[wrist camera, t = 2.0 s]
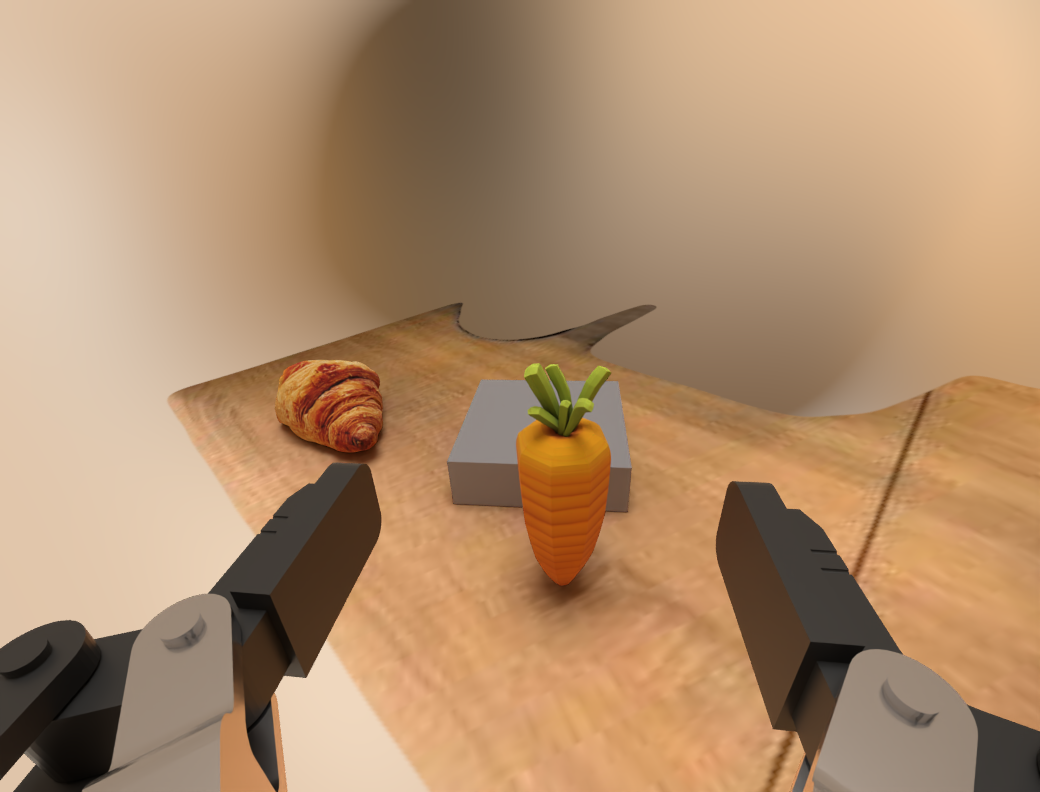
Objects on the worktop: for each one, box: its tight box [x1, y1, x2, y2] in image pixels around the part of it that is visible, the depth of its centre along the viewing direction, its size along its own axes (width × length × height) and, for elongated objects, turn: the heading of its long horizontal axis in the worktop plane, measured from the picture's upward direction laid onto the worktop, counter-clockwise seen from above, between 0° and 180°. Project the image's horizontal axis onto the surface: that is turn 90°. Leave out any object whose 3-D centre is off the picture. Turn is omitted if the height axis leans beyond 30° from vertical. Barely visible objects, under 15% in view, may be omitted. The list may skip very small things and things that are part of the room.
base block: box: [447, 380, 632, 512], centre depth 39 cm, size 13×13×4 cm
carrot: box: [516, 363, 611, 586], centre depth 25 cm, size 5×5×15 cm
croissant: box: [275, 360, 383, 452], centre depth 46 cm, size 21×10×8 cm, turn 39°
